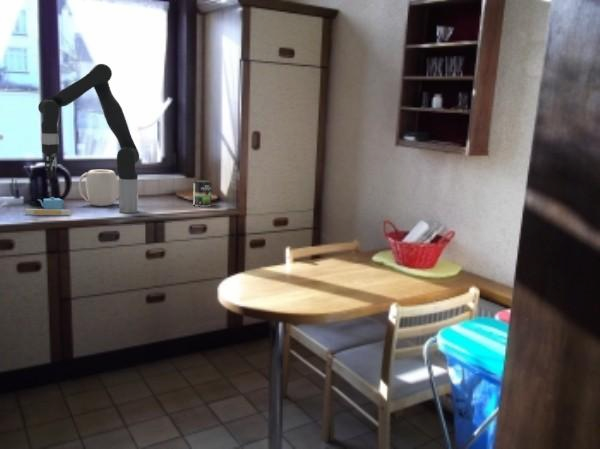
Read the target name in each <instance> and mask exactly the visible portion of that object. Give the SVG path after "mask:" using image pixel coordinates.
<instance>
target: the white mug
mask: <svg viewBox="0 0 600 449" xmlns="http://www.w3.org/2000/svg"><path fill="white" fill-rule="evenodd" d="M84 177H86V178H85V190H86V191H85V192H86V195H85V194H84V193H83V192H84V191H83V190H82V181H83V178H84ZM77 187H78V192H79V194H80V196H81V197H82V199H83V200H85V202H88V203H89V204H90V205H92V206H99V207H104V206H105V207H107V206H108V207H109V206H110V205H114V203H115V200H117V199H119V176H117V175H116V172H115V171H114V170H111V169H103V168H102V169H90V170H88V172H84V173H83V174H82V175H81V176H80V177H79V181H78V186H77ZM86 196H87V197H86Z"/></svg>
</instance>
